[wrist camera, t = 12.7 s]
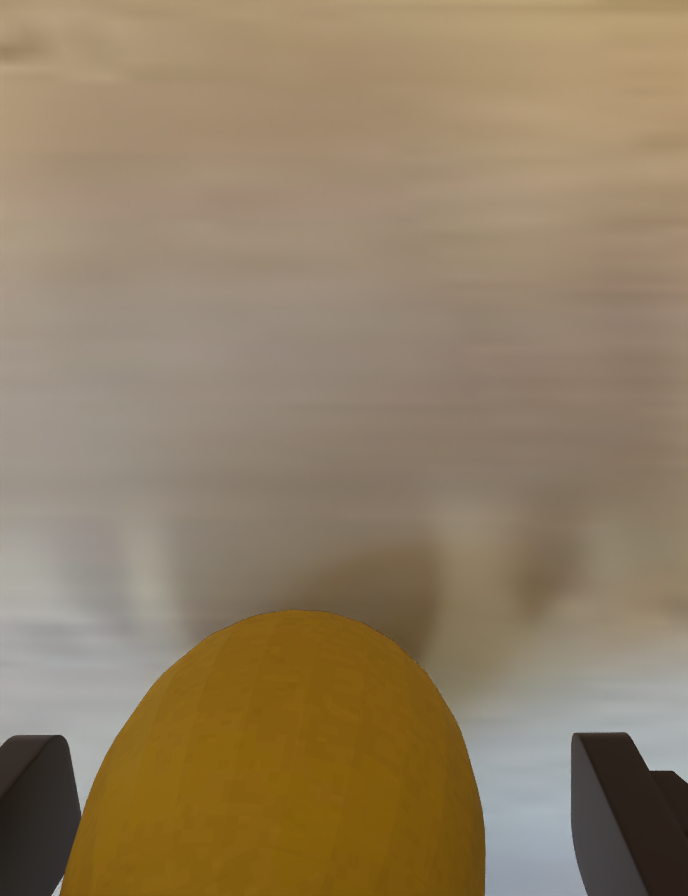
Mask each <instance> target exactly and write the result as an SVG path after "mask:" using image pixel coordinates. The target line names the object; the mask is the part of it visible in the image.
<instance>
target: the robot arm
mask: <svg viewBox="0 0 688 896" xmlns="http://www.w3.org/2000/svg"><path fill="white" fill-rule="evenodd" d="M80 821H81V810H80V805H79V799H78V794H77V788H76V783H75V777H74V772H73V766H72V761H71V755H70V750H69V746H68V743H67V740H66V739H65V738H64V737H63V736H61V735H15V736H13V737H11V738H9V739H8V740H7V741H6V742H5V743H4V744H3V745H2V746H1V747H0V896H51V895H52V894H53V892H54V890H55V889H56V887H57V885H58V884H59V882H60V880H61V879H62V877H63V875H64V874H65V869H66V866H67V863H68V859H69V856H70V853H71V850H72V846H73V843H74V840H75V837H76V833H77V830H78V827H79V824H80ZM571 827H572V837H573V844H574V849H575V855H576V859H577V863H578V867H579V870H580V874H581V877H582V880H583V883H584V886H585V889H586V892H587V895H588V896H688V783H686V782H685V781H684V780H683V779H682V778H681V777H679V776H678V775H677V774H676V773H675V772H673V771H649V769H648V767H647V765H646V764H645V762H644V760H643V758H642V757H641V755H640V753H639V751H638V749H637V748H636V746H635V744H634V742H633V740H632V739H631V737H630V736H629V735H628V734H627V733H625V732H613V733H574V734H573V736H572V743H571Z"/></svg>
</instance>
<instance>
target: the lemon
mask: <svg viewBox="0 0 688 896" xmlns="http://www.w3.org/2000/svg"><path fill="white" fill-rule="evenodd" d="M59 896H485V829H484V820H483V812H482V806H481V801H480V797H479V792H478V788H477V784H476V781H475V777H474V773H473V770H472V766H471V763H470V759H469V755H468V752H467V748H466V745H465V742H464V739H463V736H462V733H461V730H460V728H459V726H458V724H457V722H456V720H455V718H454V716H453V714H452V713H451V711H450V709H449V708H448V706H447V704H446V703H445V701H444V700H443V698H442V696H441V695H440V693H439V691H438V690H437V688H436V686H435V685H434V683H433V682H432V680H431V679H430V677H429V676H428V674H427V673H426V672H425V671H424V670H423V669H422V668H421V667H420V666H419V665H418V664H417V663H416V662H415V661H414V660H413V659H412V658H411V657H410V656H409V655H408V654H407V653H406V652H405V651H403V650H402V649H401V648H400V647H399V646H398V645H397V644H396V643H395V642H394V641H393V640H391V639H389V638H388V637H386V636H384V635H383V634H381V633H379V632H377V631H376V630H374V629H372V628H371V627H369V626H367V625H366V624H364V623H362V622H359V621H356V620H352V619H349V618H346V617H342V616H339V615H336V614H332V613H329V612H322V611H307V610H291V609H290V610H284V611H279V612H273V613H267V614H261V615H255V616H252V617H249V618H247V619H245V620H242V621H240V622H238V623H236V624H233V625H231V626H229V627H227V628H225V629H222V630H220V631H218V632H216V633H213V634H212V635H210V636H209V637H207V638H206V639H204V640H203V641H202V642H200V643H199V644H198V645H197V646H196V647H194V648H193V649H192V650H191V651H189V652H188V653H187V654H186V655H185V656H183V657H182V658H181V659H180V660H178V661H177V662H176V663H175V664H174V665H172V666H171V667H170V668H169V669H168V670H167V671H166V672H165V673H164V674H162V676H161V677H160V678H159V679H158V680H157V681H156V682H155V683H154V685H153V686H152V687H151V688H150V689H149V691H148V692H147V694H146V695H145V697H144V698H143V699H142V701H141V702H140V704H139V705H138V706H137V708H136V709H135V711H134V712H133V714H132V715H131V717H130V718H129V719H128V721H127V722H126V724H125V725H124V727H123V728H122V729H121V731H120V732H119V734H118V735H117V737H116V738H115V740H114V742H113V744H112V745H111V747H110V749H109V751H108V752H107V754H106V756H105V758H104V760H103V762H102V764H101V767H100V769H99V771H98V773H97V775H96V777H95V780H94V783H93V785H92V788H91V791H90V793H89V796H88V799H87V801H86V805H85V808H84V811H83V814H82V817H81V821H80V824H79V827H78V830H77V833H76V837H75V840H74V843H73V846H72V850H71V853H70V856H69V859H68V863H67V866H66V869H65V874H64V878H63V882H62V887H61V891H60V895H59Z"/></svg>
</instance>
